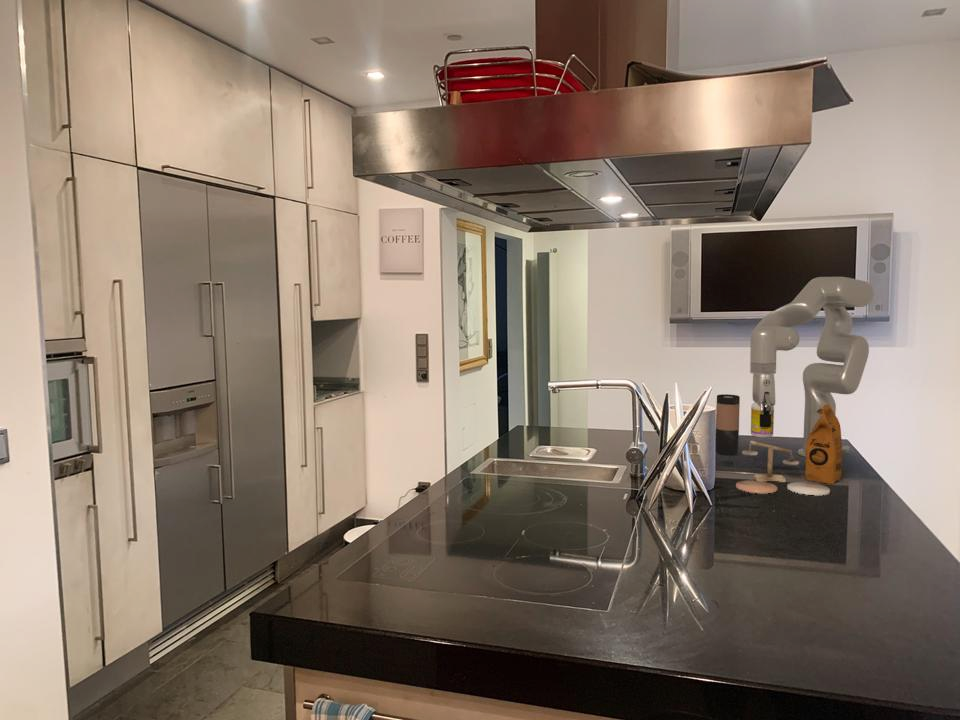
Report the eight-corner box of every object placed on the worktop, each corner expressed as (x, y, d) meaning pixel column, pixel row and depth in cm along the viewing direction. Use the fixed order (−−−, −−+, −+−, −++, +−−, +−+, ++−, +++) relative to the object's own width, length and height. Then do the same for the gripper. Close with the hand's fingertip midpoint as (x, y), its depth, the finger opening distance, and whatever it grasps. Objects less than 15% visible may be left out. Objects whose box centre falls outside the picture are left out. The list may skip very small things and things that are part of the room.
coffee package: (798, 480, 211) (801, 407, 209) (810, 471, 221) (813, 402, 218) (835, 486, 205) (838, 411, 203) (845, 477, 214) (848, 405, 212)
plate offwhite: (822, 485, 205) (822, 482, 205) (835, 496, 195) (835, 493, 194) (782, 484, 207) (782, 481, 207) (793, 495, 196) (793, 492, 196)
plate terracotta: (771, 483, 207) (771, 481, 207) (781, 494, 197) (782, 491, 196) (732, 482, 209) (732, 479, 209) (740, 493, 198) (740, 490, 198)
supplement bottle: (759, 438, 220) (760, 398, 218) (746, 434, 226) (746, 394, 225) (778, 436, 222) (778, 396, 220) (764, 432, 228) (764, 393, 226)
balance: (795, 478, 213) (797, 440, 212) (800, 482, 208) (801, 443, 207) (739, 476, 215) (741, 438, 214) (742, 480, 211) (744, 442, 210)
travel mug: (740, 452, 247) (742, 395, 245) (735, 456, 241) (737, 398, 239) (717, 449, 251) (719, 393, 249) (712, 453, 245) (714, 396, 243)
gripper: (783, 372, 212) (782, 430, 214) (768, 364, 229) (767, 418, 231) (757, 372, 213) (756, 430, 216) (744, 364, 230) (743, 418, 233)
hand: (762, 423), depth 224 cm, fingers closed on supplement bottle, 6 cm apart
